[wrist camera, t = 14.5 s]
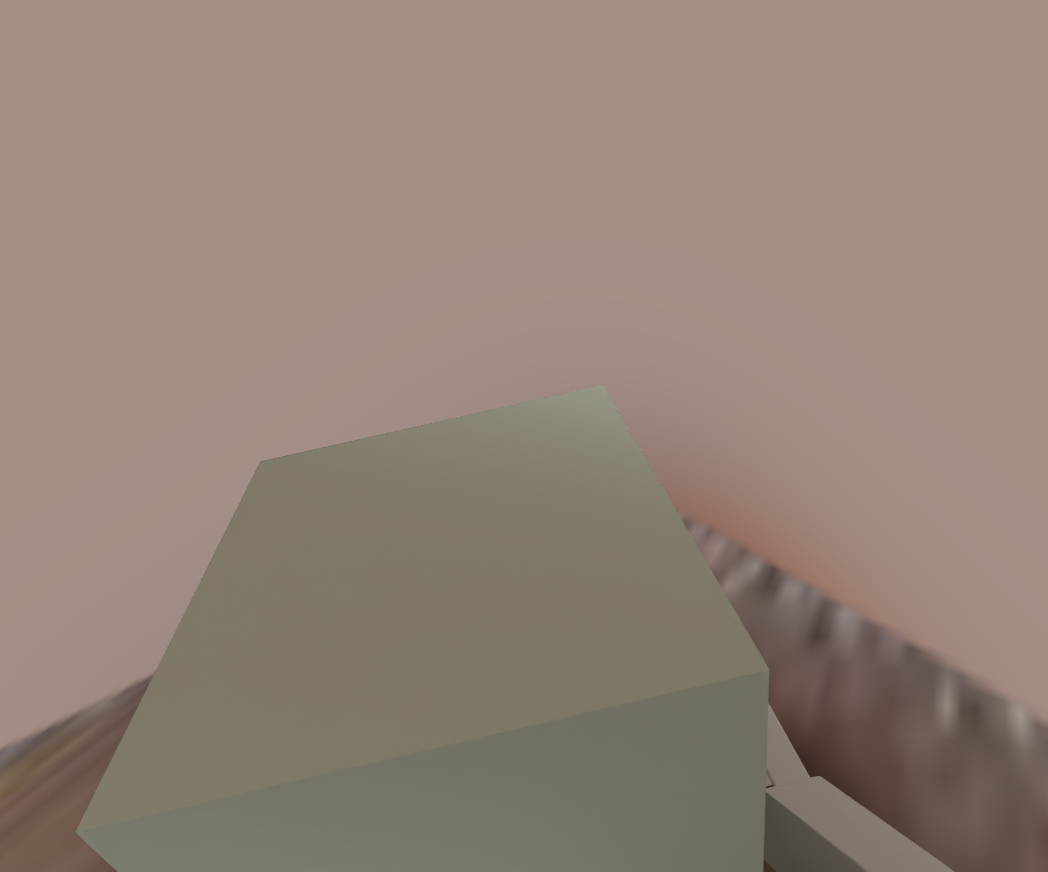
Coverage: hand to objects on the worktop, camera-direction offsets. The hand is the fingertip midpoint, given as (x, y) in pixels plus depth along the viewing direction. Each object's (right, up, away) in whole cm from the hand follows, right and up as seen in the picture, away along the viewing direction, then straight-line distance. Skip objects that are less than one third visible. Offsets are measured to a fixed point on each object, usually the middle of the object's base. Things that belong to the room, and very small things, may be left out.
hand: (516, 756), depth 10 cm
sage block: (+1, -6, +3) cm, 7 cm away
